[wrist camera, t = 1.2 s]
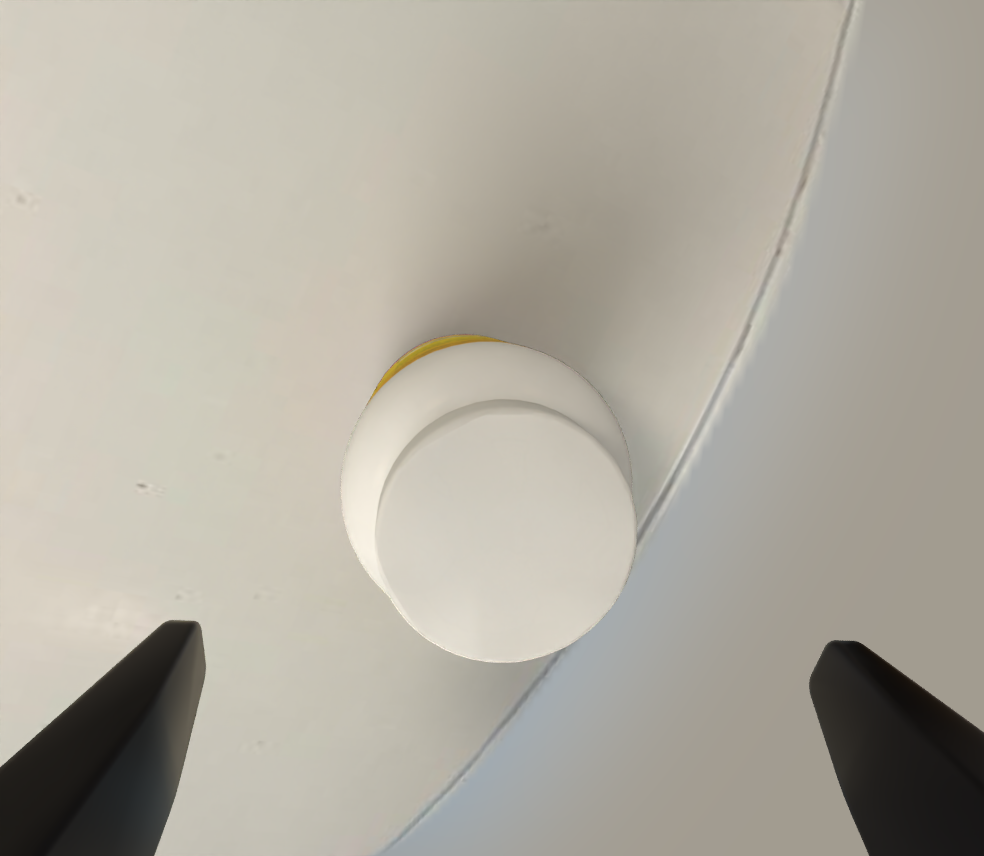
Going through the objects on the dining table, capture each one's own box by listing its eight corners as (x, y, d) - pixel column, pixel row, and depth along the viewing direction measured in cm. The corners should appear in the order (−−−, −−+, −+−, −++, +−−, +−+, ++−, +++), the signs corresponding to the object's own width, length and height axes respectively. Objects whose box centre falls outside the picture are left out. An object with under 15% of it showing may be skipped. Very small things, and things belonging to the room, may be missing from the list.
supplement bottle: (354, 345, 24) (284, 369, 11) (542, 323, 24) (679, 321, 12) (382, 530, 25) (347, 744, 12) (561, 505, 25) (705, 682, 13)
